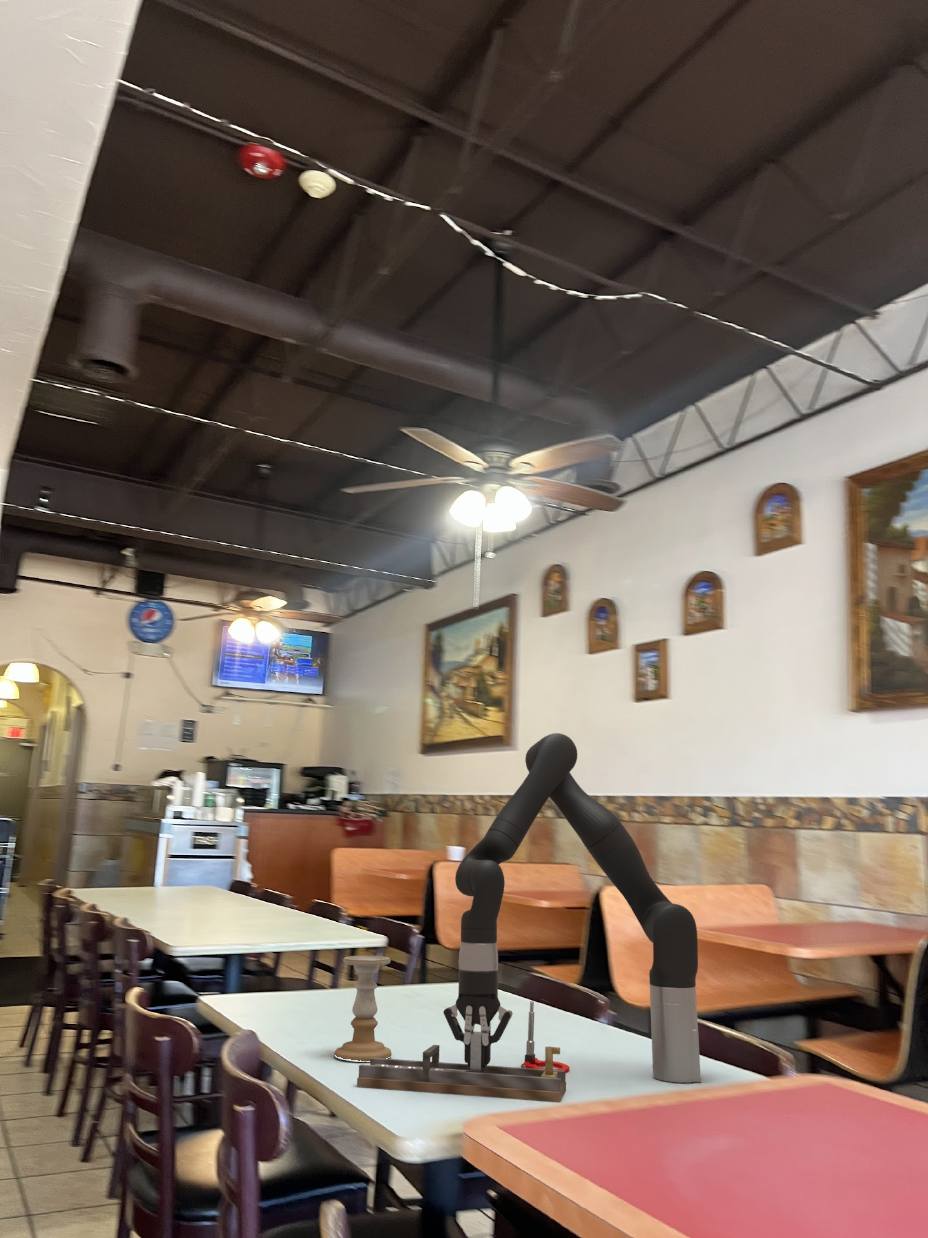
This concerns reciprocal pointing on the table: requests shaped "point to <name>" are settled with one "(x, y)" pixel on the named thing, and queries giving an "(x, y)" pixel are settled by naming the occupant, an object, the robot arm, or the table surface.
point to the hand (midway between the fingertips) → (477, 1066)
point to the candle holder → (364, 1012)
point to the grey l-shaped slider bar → (474, 1061)
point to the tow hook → (530, 1056)
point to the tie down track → (466, 1078)
